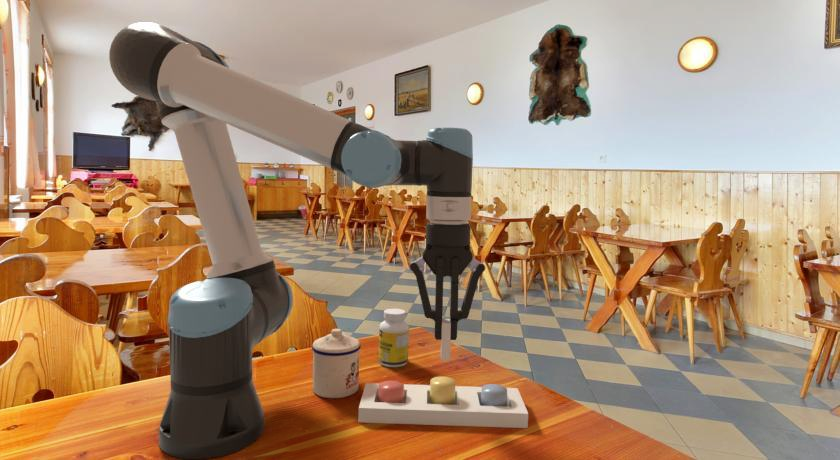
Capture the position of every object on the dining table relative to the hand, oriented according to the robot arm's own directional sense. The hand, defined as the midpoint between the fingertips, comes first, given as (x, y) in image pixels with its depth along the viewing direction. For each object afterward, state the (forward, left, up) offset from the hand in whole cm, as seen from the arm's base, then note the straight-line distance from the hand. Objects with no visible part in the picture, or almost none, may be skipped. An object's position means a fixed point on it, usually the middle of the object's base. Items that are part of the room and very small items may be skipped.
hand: (445, 357), depth 86 cm
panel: (0, 0, -10) cm, 10 cm away
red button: (-9, 0, -9) cm, 13 cm away
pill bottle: (-10, +22, -10) cm, 26 cm away
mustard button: (0, 0, -8) cm, 8 cm away
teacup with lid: (-20, +9, -10) cm, 24 cm away
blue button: (+9, 0, -9) cm, 13 cm away
